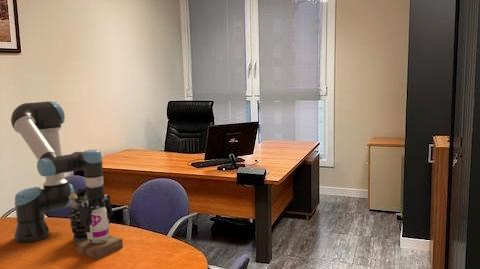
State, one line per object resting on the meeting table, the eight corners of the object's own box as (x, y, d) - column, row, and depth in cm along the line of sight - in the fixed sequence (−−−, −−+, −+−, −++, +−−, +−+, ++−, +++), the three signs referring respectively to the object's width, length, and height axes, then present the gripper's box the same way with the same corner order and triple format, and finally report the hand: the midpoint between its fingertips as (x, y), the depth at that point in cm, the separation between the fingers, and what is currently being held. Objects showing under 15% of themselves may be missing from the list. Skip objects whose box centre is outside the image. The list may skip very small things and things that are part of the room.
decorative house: (89, 247, 190) (84, 194, 187) (63, 243, 196) (58, 191, 192) (117, 231, 210) (114, 182, 206) (93, 227, 215) (89, 180, 211)
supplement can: (102, 244, 182) (100, 211, 180) (85, 243, 184) (82, 210, 182) (112, 237, 190) (109, 205, 188) (95, 236, 192) (92, 204, 189)
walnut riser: (76, 252, 185) (75, 243, 185) (102, 241, 197) (101, 233, 196) (97, 259, 178) (96, 250, 177) (122, 247, 190) (122, 238, 189)
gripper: (79, 192, 172) (84, 245, 176) (119, 181, 190) (122, 229, 193) (68, 190, 177) (72, 242, 180) (108, 179, 194) (111, 226, 197)
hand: (98, 235), depth 187 cm, fingers closed on supplement can, 8 cm apart
